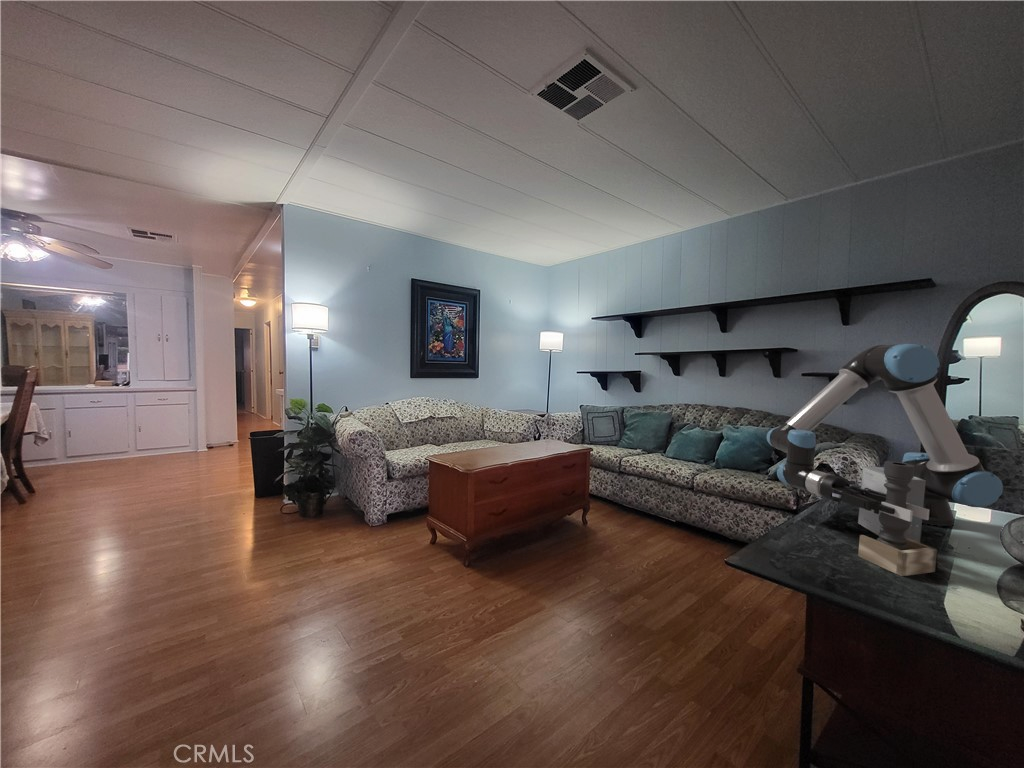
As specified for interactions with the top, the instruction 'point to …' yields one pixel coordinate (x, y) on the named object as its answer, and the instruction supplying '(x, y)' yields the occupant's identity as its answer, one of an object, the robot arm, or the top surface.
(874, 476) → the hard drive box
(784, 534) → the top surface
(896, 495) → the candle holder
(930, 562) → the birch crate
